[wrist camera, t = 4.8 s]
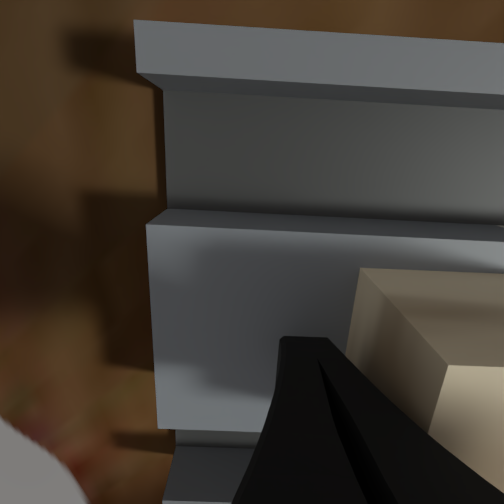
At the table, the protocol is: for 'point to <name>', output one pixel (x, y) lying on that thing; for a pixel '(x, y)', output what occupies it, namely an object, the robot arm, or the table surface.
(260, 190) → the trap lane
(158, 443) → the table surface
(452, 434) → the maple block
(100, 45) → the table surface
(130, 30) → the table surface
